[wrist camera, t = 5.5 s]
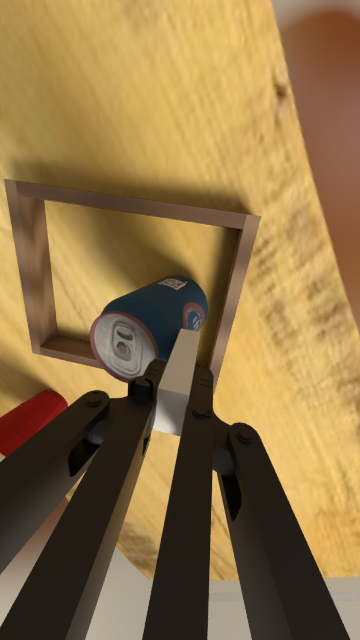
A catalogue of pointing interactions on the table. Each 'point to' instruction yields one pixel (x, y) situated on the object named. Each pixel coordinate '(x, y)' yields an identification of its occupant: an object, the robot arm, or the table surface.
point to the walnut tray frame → (32, 219)
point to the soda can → (146, 325)
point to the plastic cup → (28, 420)
